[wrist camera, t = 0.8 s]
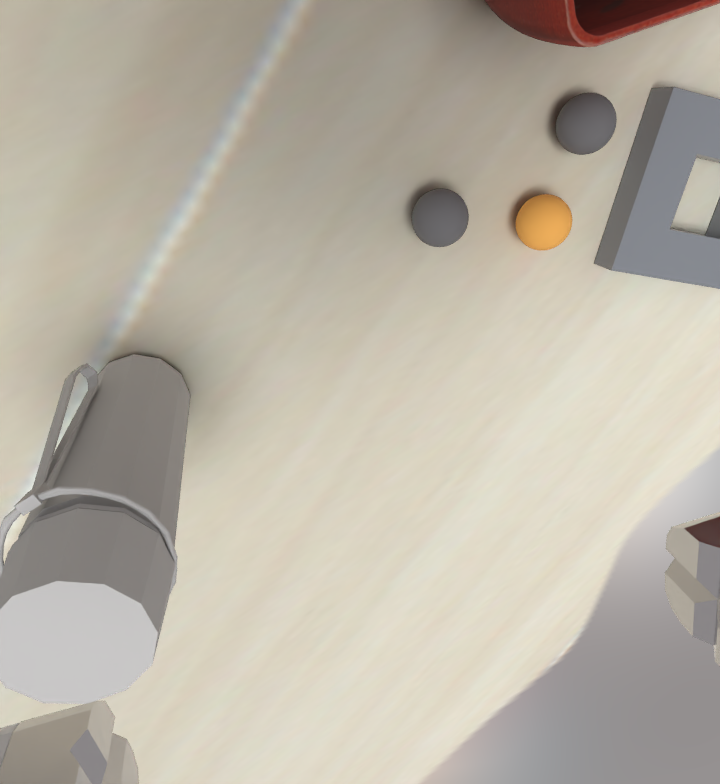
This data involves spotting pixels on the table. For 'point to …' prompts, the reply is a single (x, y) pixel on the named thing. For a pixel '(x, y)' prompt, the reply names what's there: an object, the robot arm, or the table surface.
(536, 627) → the table surface
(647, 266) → the grey square frame
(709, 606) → the robot arm
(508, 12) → the plant pot
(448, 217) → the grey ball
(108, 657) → the water bottle
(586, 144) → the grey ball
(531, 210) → the orange ball
